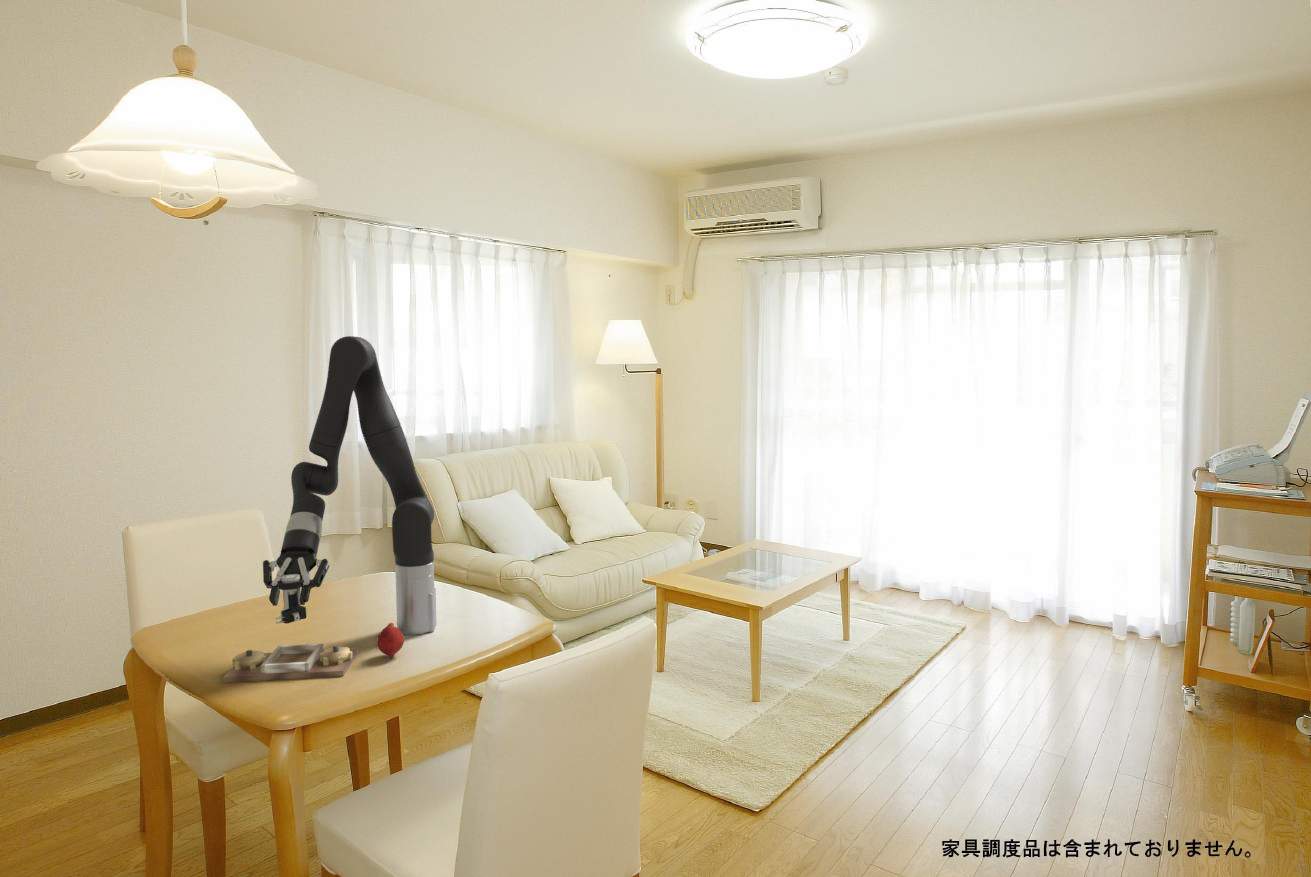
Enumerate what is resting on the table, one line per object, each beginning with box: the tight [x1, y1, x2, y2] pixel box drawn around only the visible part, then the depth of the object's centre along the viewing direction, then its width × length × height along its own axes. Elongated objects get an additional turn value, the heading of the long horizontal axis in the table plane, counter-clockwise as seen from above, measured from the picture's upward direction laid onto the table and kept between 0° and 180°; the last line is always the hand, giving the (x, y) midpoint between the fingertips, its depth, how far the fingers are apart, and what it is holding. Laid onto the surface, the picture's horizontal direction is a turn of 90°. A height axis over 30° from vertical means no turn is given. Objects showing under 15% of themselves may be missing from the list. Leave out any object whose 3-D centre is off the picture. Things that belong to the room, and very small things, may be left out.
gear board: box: [222, 643, 358, 684], centre depth 169 cm, size 25×13×4 cm, turn 99°
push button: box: [274, 574, 307, 625], centre depth 168 cm, size 7×5×10 cm
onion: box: [376, 621, 405, 658], centre depth 175 cm, size 6×6×8 cm
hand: (288, 603), depth 166 cm, fingers closed on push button, 5 cm apart
